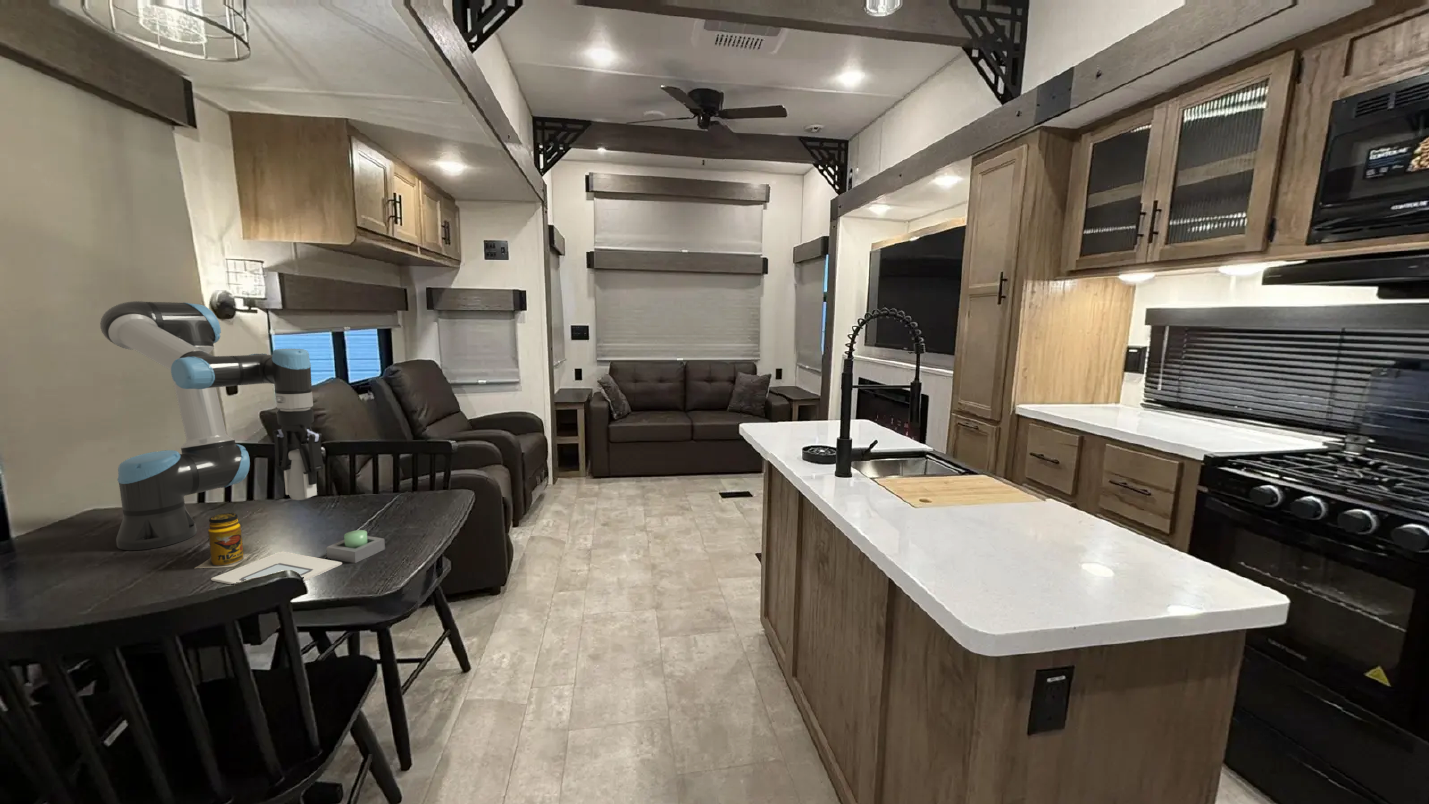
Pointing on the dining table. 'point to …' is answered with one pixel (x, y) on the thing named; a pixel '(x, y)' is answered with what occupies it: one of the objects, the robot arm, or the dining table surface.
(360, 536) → the button
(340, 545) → the button housing
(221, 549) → the condiment
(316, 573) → the colouring board
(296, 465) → the salt shaker
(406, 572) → the dining table surface
